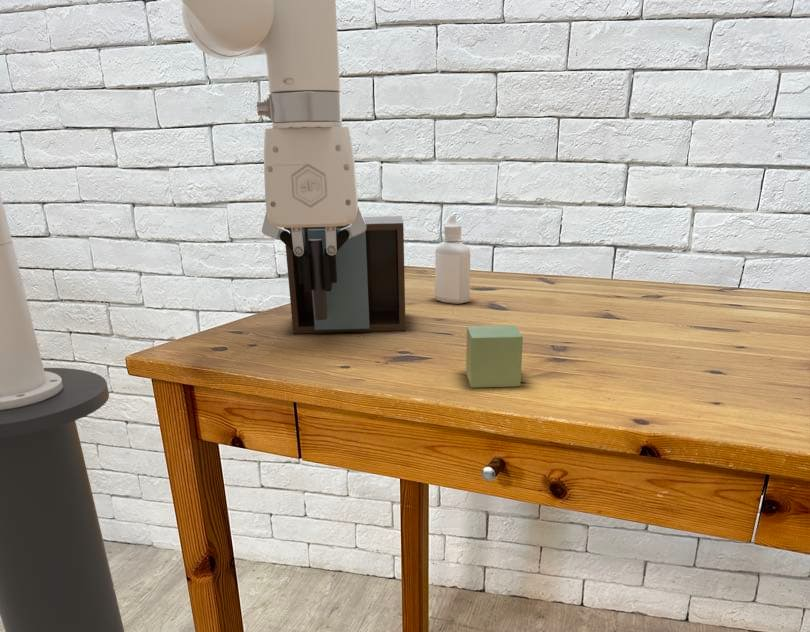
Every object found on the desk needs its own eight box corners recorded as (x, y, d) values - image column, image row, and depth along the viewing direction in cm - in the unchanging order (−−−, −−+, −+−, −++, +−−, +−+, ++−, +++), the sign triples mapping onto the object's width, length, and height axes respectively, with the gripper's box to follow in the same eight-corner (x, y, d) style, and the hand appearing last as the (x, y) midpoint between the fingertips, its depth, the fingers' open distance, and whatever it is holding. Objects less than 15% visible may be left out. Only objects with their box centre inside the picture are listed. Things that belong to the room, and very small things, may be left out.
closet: (405, 330, 100) (403, 223, 93) (293, 333, 99) (283, 225, 93) (404, 316, 108) (402, 215, 101) (300, 318, 107) (291, 218, 101)
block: (520, 386, 77) (523, 336, 74) (470, 387, 77) (471, 337, 74) (513, 372, 81) (515, 325, 79) (466, 374, 81) (466, 326, 79)
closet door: (368, 339, 93) (364, 233, 88) (311, 340, 93) (302, 235, 88) (369, 327, 99) (365, 227, 93) (315, 328, 99) (307, 229, 93)
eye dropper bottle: (443, 305, 113) (444, 218, 108) (433, 298, 118) (433, 214, 113) (471, 303, 114) (473, 216, 109) (460, 296, 119) (461, 213, 113)
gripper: (227, 113, 79) (247, 297, 88) (379, 110, 79) (385, 294, 88) (239, 115, 86) (257, 286, 94) (379, 112, 86) (384, 282, 95)
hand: (318, 288), depth 91 cm, fingers closed on closet door
